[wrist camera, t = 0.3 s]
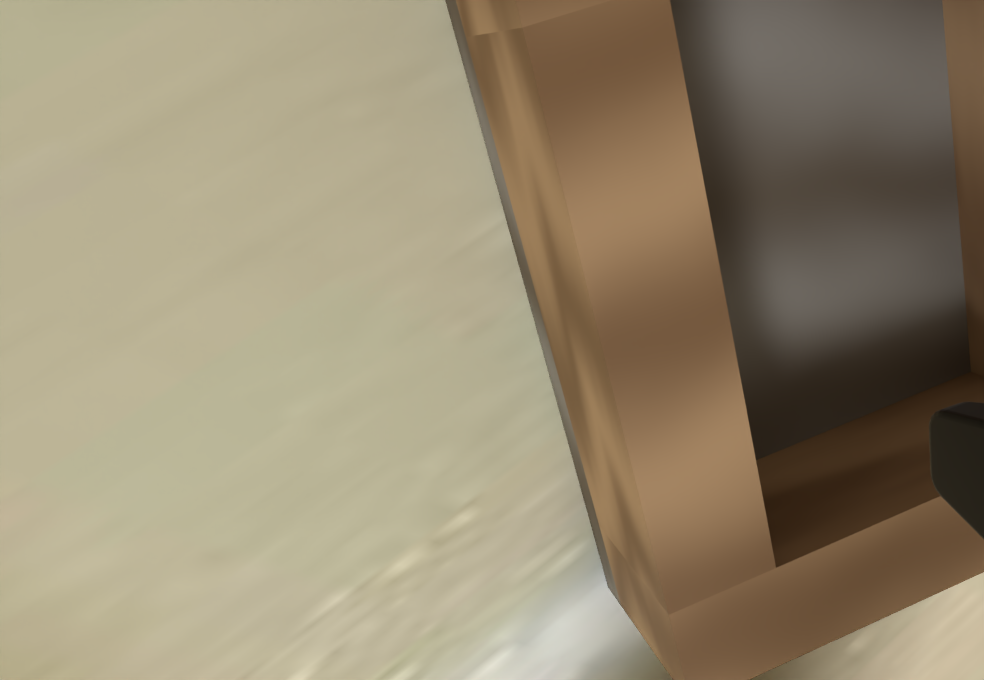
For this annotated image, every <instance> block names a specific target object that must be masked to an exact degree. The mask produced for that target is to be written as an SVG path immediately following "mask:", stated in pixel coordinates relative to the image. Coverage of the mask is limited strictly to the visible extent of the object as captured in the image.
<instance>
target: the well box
mask: <svg viewBox="0 0 984 680" xmlns="http://www.w3.org/2000/svg"><path fill="white" fill-rule="evenodd" d="M446 4H447V7H448V11H449V14H450V18H451V22H452V25H453V29H454V32H455V36H456V40H457V43H458V47H459V51H460V54H461V58H462V61H463V65H464V69H465V72H466V76H467V79H468V83H469V87H470V90H471V94H472V97H473V101H474V105H475V108H476V112H477V115H478V119H479V123H480V126H481V130H482V133H483V137H484V141H485V144H486V148H487V151H488V155H489V159H490V162H491V166H492V170H493V173H494V177H495V180H496V184H497V188H498V191H499V195H500V198H501V202H502V206H503V209H504V213H505V216H506V220H507V224H508V227H509V231H510V234H511V238H512V242H513V245H514V249H515V252H516V256H517V260H518V263H519V267H520V270H521V274H522V278H523V281H524V285H525V289H526V292H527V296H528V299H529V303H530V307H531V310H532V314H533V317H534V321H535V325H536V328H537V332H538V335H539V339H540V343H541V346H542V350H543V353H544V357H545V361H546V364H547V368H548V371H549V375H550V379H551V382H552V386H553V389H554V393H555V397H556V400H557V404H558V408H559V411H560V415H561V418H562V422H563V426H564V429H565V433H566V436H567V440H568V444H569V447H570V451H571V454H572V458H573V462H574V465H575V469H576V472H577V476H578V480H579V483H580V487H581V490H582V494H583V498H584V501H585V505H586V508H587V512H588V516H589V519H590V523H591V527H592V530H593V534H594V537H595V541H596V545H597V548H598V552H599V555H600V559H601V563H602V566H603V570H604V573H605V577H606V581H607V584H608V588H609V589H610V590H611V592H612V593H613V595H614V596H615V598H616V599H617V600H618V602H619V603H620V605H621V606H622V608H623V609H624V610H625V612H626V613H627V615H628V616H629V618H630V619H631V620H632V622H633V623H634V625H635V626H636V628H637V629H638V630H639V632H640V633H641V635H642V636H643V638H644V639H645V640H646V642H647V643H648V645H649V646H650V648H651V649H652V650H653V652H654V653H655V655H656V656H657V658H658V659H659V660H660V662H661V663H662V665H663V666H664V668H665V669H666V670H667V672H668V673H669V675H670V676H671V677H672V679H673V680H749V679H752V678H754V677H756V676H758V675H760V674H763V673H765V672H767V671H769V670H771V669H773V668H776V667H778V666H780V665H782V664H784V663H786V662H789V661H791V660H793V659H795V658H797V657H800V656H802V655H804V654H806V653H808V652H810V651H813V650H815V649H817V648H819V647H821V646H824V645H826V644H828V643H830V642H832V641H834V640H837V639H839V638H841V637H843V636H845V635H847V634H850V633H852V632H854V631H856V630H858V629H861V628H863V627H865V626H867V625H869V624H871V623H874V622H876V621H878V620H880V619H882V618H885V617H887V616H889V615H891V614H893V613H895V612H898V611H900V610H902V609H904V608H906V607H909V606H911V605H913V604H915V603H917V602H919V601H922V600H924V599H926V598H928V597H930V596H932V595H935V594H937V593H939V592H941V591H943V590H946V589H948V588H950V587H952V586H954V585H956V584H959V583H961V582H963V581H965V580H967V579H970V578H972V577H974V576H976V575H978V574H980V573H983V572H984V539H983V538H982V537H981V536H980V535H979V534H978V533H977V532H976V531H975V530H974V529H973V528H972V527H971V526H970V525H969V524H968V523H967V522H966V521H965V520H964V519H963V518H962V517H961V516H960V515H959V514H958V513H957V512H956V511H955V510H954V509H953V508H952V507H951V506H950V505H949V504H948V503H947V502H946V501H945V500H944V499H943V498H942V497H941V496H940V495H939V493H938V492H937V490H936V489H935V487H934V484H933V482H932V479H931V473H930V449H929V421H930V418H931V416H932V415H933V414H934V413H935V412H936V411H938V410H941V409H944V408H947V407H949V406H952V405H955V404H958V403H961V402H980V403H984V0H446Z"/></svg>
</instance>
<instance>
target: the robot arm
mask: <svg viewBox="0 0 984 680" xmlns="http://www.w3.org/2000/svg"><path fill="white" fill-rule="evenodd" d="M929 449H930V473H931V479H932V482H933V484H934V487H935V489H936V490H937V492H938V493H939V495H940V496H941V497H942V498H943V499H944V500H945V501H946V502H947V503H948V504H949V505H950V506H951V507H952V508H953V509H954V510H955V511H956V512H957V513H958V514H959V515H960V516H961V517H962V518H963V519H964V520H965V521H966V522H967V523H968V524H969V525H970V526H971V527H972V528H973V529H974V530H975V531H976V532H977V533H978V534H979V535H980V536H981V537H982V538H983V539H984V403H980V402H961V403H958V404H955V405H952V406H949V407H947V408H944V409H941V410H938V411H936V412H935V413H934V414H933V415H932V416H931V418H930V421H929Z"/></svg>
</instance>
